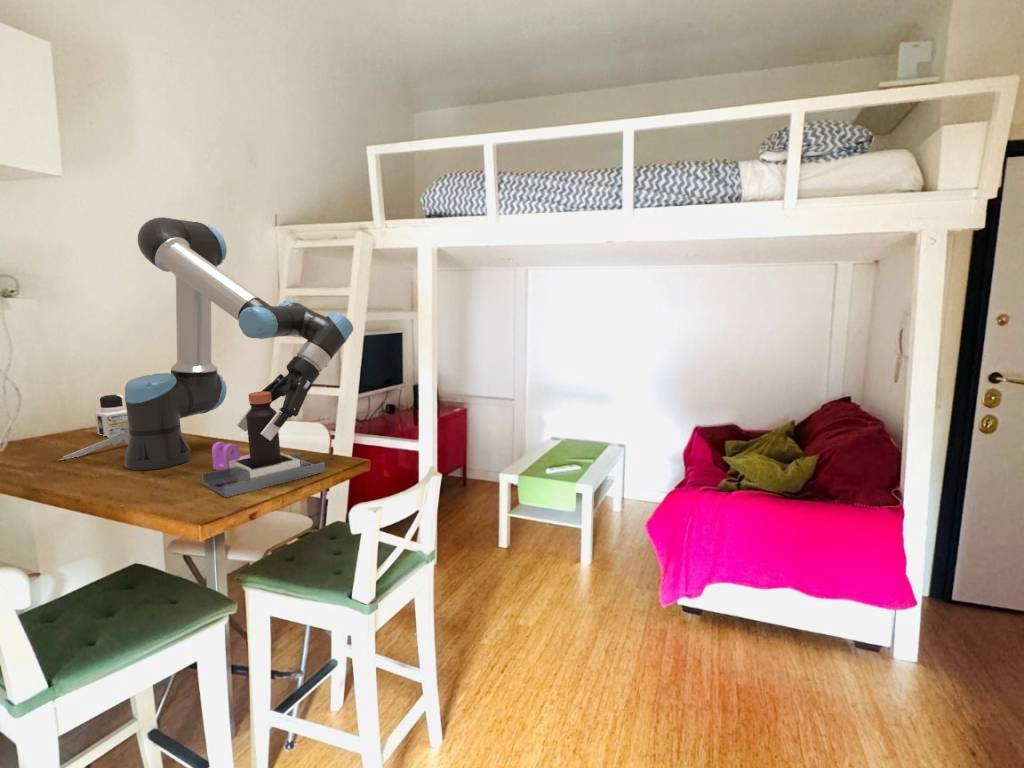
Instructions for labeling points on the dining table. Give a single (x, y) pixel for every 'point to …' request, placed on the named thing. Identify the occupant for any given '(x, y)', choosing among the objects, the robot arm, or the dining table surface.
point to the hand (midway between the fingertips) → (252, 432)
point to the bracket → (224, 455)
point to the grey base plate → (258, 475)
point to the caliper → (102, 444)
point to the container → (111, 415)
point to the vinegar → (257, 420)
